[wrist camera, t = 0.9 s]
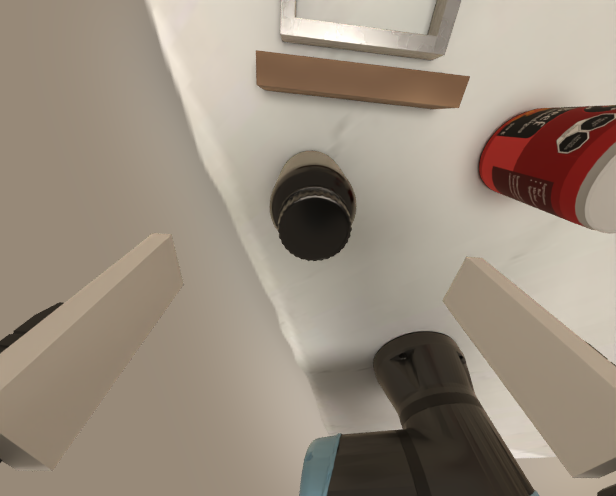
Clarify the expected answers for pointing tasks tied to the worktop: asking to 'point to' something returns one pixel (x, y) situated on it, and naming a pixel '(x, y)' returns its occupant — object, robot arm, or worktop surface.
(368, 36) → the frame
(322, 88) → the door edge rail
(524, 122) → the canned food
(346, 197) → the supplement bottle
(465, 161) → the worktop surface
